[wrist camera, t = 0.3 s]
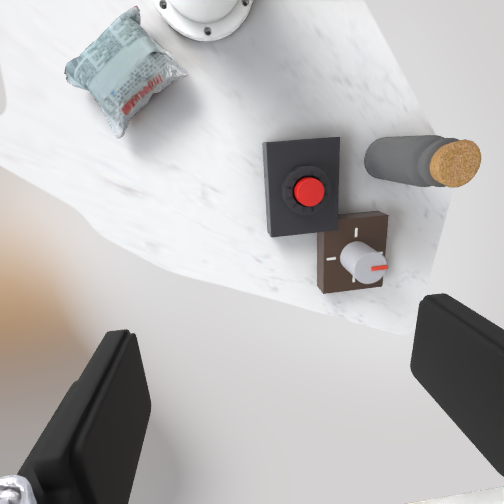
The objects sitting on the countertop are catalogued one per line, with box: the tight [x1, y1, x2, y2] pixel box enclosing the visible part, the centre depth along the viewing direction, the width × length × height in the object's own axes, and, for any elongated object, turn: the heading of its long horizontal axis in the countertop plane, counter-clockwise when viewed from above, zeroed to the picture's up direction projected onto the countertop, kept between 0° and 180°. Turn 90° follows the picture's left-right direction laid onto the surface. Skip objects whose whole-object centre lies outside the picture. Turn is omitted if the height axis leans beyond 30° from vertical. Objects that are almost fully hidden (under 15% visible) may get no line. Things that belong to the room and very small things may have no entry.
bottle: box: [364, 135, 481, 187], centre depth 37 cm, size 6×6×15 cm
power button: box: [294, 177, 324, 206], centre depth 39 cm, size 4×4×2 cm
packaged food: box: [64, 6, 188, 138], centre depth 35 cm, size 9×12×5 cm
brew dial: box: [340, 241, 388, 284], centre depth 43 cm, size 5×5×5 cm
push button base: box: [263, 137, 340, 237], centre depth 42 cm, size 13×10×5 cm
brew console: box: [317, 211, 389, 294], centre depth 47 cm, size 12×10×3 cm
